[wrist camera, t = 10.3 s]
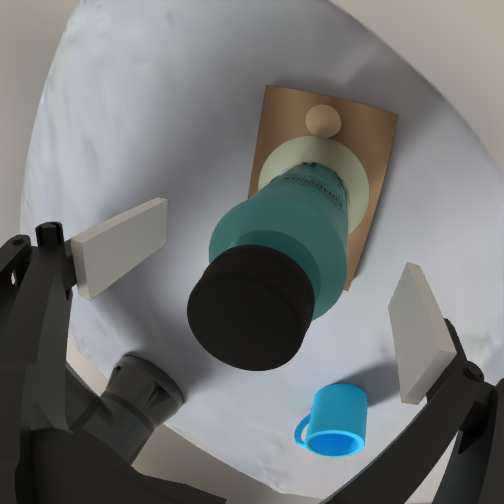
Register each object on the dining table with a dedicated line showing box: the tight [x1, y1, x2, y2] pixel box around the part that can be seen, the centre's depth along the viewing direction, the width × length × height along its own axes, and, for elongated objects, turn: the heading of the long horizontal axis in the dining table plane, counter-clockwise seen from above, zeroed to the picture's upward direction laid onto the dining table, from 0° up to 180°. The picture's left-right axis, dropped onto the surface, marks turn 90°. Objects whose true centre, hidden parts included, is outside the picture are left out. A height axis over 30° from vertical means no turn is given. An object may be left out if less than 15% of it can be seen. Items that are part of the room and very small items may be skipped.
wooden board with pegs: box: [248, 85, 398, 291], centre depth 24 cm, size 12×18×8 cm, turn 171°
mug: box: [294, 383, 368, 457], centre depth 35 cm, size 12×8×8 cm
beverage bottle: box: [187, 161, 351, 371], centre depth 17 cm, size 6×7×20 cm
